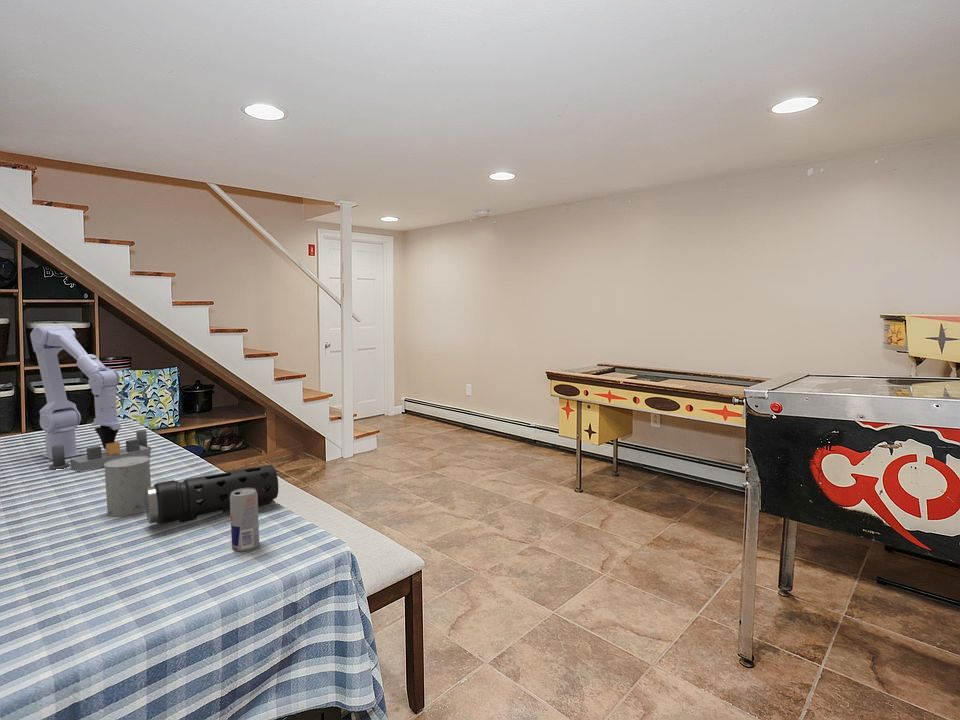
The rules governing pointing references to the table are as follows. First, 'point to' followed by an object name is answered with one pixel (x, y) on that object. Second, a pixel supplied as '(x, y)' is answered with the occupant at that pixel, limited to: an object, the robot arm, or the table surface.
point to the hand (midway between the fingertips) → (108, 448)
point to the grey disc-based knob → (58, 458)
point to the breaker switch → (113, 448)
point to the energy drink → (244, 519)
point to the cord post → (142, 438)
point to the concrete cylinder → (127, 485)
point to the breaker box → (98, 458)
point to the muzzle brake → (206, 494)
